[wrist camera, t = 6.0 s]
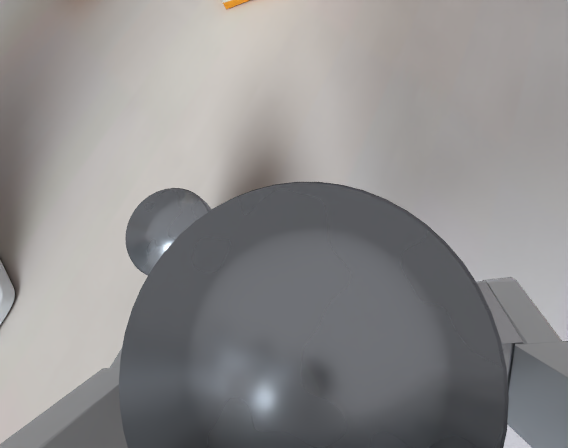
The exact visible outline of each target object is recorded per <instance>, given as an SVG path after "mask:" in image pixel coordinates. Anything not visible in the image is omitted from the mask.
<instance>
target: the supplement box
mask: <svg viewBox="0 0 568 448" xmlns="http://www.w3.org/2000/svg"><path fill="white" fill-rule="evenodd" d="M247 1H250V0H222V2H223V4H224V6H225V8H226V9H228V8H231V7H234V6H236V5H239V4H242V3H244V2H247Z"/></svg>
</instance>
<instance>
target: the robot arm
mask: <svg viewBox="0 0 568 448" xmlns="http://www.w3.org/2000/svg"><path fill="white" fill-rule="evenodd" d="M476 283H477V284H478V286H479V288H480V290H481V292H482V294H483V296H484V298H485V300H486V302H487V304H488V306H489V308H490V310H491V313H492V316H493V318H494V321H495V324H496V327H497V330H498V333H499V336H500V339H501V343H502V348H503V353H504V358H505V363H506V368H507V381H508V395H509V404H508V419H507V424H508V425H509V426H510V427H511V428H512V429H513V430H514V431H515V432H516V433H517V434H518V435H519V436H520V437H522V438H523V439H524V440H525V441H526V442H527V443H528V444H529V445H530V446H531V447H532V448H568V341H562V340H561V339H560V338H559V336H558V335H557V334H556V332H555V331H554V330H553V328H552V327H551V326H550V324H549V323H548V322H547V320H546V319H545V318H544V316H543V315H542V314H541V312H540V311H539V310H538V308H537V307H536V306H535V304H534V303H533V302H532V300H531V299H530V298H529V296H528V295H527V294H526V292H525V291H524V290H523V288H522V287H521V286H520V284H519V283H518V282H517V280H515V279H514V278H512V277H508V278H499V279H490V280H483V281H477V282H476ZM14 297H15V291H14V288H13V285H12V283H11V281H10V279H9V277H8V275H7V273H6V271H5V269H4V267H3V265H2V263H1V260H0V324H1V323H2V321H3V320H4V318H5V317H6V315H7V313H8V312H9V310H10V308H11V306H12V304H13V301H14ZM121 352H122V349H121V350H120V352H119V354H118V355H117V357H116V358H115V360H114V362H113V363H112V365H111V366H110V368H104V369H101V370H100V371H99V372H97V373H96V374H95V375H93V376H92V377H91V378H89V379H88V380H87V381H85V382H84V383H82V384H81V385H80V386H78V387H77V388H76V389H74V390H73V391H72V392H70V393H69V394H68V395H66V396H65V397H64V398H62V399H61V400H59V401H58V402H57V403H55V404H54V405H53V406H51V407H50V408H49V409H47V410H46V411H45V412H43V413H42V414H41V415H39V416H38V417H36V418H35V419H34V420H32V421H31V422H30V423H28V424H27V425H26V426H24V427H23V428H22V429H20V430H19V431H18V432H16V433H15V434H13V435H12V436H11V437H9V438H8V439H7V440H5V441H4V442H3V443H1V444H0V448H128V447H127V443H126V439H125V435H124V432H123V425H122V418H121V411H120V399H119V372H120V359H121Z"/></svg>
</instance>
